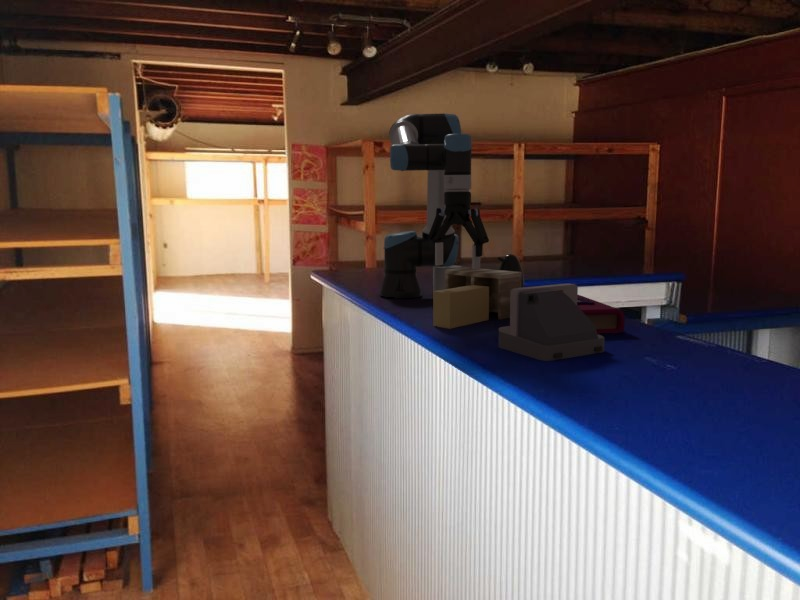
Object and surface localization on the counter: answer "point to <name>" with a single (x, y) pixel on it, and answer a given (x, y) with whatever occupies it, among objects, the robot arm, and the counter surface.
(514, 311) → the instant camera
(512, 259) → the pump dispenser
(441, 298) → the box
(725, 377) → the counter surface
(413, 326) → the counter surface
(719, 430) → the counter surface
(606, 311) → the book
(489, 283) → the shelf unit
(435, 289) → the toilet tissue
